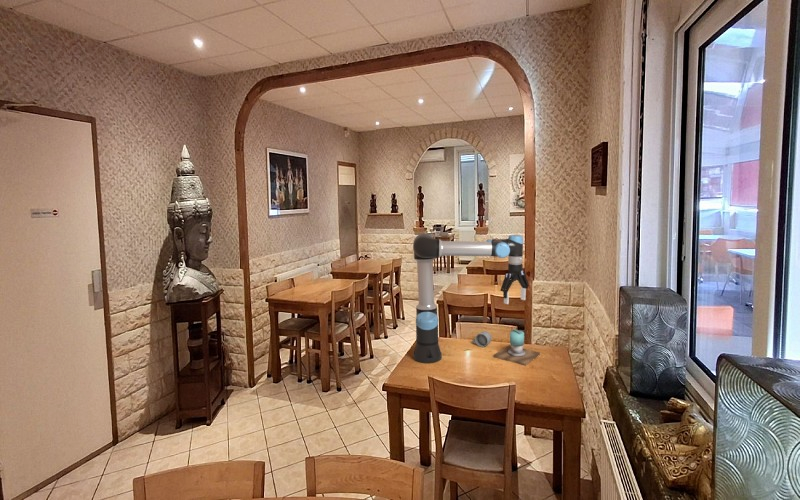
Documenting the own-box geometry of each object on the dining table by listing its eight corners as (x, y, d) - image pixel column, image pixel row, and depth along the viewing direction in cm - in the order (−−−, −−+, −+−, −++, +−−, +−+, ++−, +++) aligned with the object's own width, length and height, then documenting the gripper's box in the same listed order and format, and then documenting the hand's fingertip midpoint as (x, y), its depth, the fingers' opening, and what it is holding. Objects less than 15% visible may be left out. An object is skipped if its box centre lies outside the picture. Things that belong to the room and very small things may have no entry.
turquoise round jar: (526, 344, 218) (527, 332, 217) (514, 346, 216) (514, 333, 215) (519, 340, 225) (519, 328, 224) (507, 341, 223) (507, 329, 222)
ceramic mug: (492, 343, 240) (492, 330, 239) (487, 348, 233) (487, 334, 232) (475, 340, 245) (474, 328, 244) (469, 345, 238) (469, 332, 237)
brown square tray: (493, 357, 220) (493, 344, 219) (508, 347, 234) (509, 335, 233) (525, 365, 209) (525, 352, 208) (539, 354, 222) (540, 342, 221)
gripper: (504, 267, 215) (504, 307, 218) (536, 261, 229) (535, 299, 232) (494, 265, 221) (493, 304, 224) (525, 260, 235) (524, 296, 238)
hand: (514, 301), depth 228 cm, fingers open, 13 cm apart
